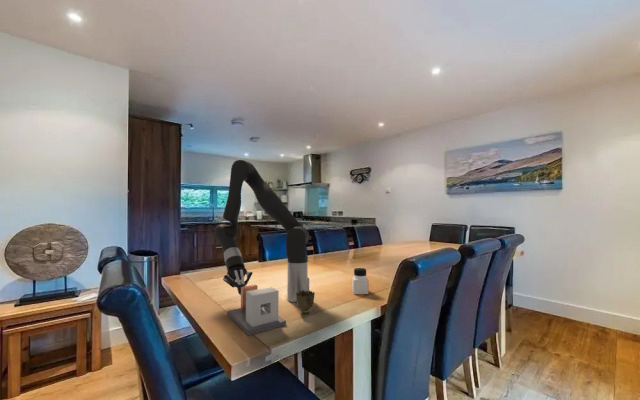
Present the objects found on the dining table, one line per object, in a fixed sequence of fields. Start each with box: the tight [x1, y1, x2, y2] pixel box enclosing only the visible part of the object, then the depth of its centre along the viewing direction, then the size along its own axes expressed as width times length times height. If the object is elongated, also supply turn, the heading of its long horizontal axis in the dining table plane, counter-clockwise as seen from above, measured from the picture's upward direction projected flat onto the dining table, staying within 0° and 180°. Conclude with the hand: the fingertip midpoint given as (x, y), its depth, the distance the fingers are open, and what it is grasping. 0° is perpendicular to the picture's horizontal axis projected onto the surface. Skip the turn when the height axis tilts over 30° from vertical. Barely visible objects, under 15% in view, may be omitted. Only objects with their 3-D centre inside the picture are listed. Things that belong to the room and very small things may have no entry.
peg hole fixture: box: [227, 286, 287, 336], centre depth 105 cm, size 14×22×12 cm, turn 36°
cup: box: [296, 290, 316, 315], centre depth 112 cm, size 8×7×8 cm
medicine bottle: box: [351, 267, 369, 295], centre depth 139 cm, size 7×7×12 cm
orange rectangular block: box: [240, 284, 264, 312], centre depth 106 cm, size 6×11×9 cm, turn 36°
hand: (243, 294), depth 115 cm, fingers closed
